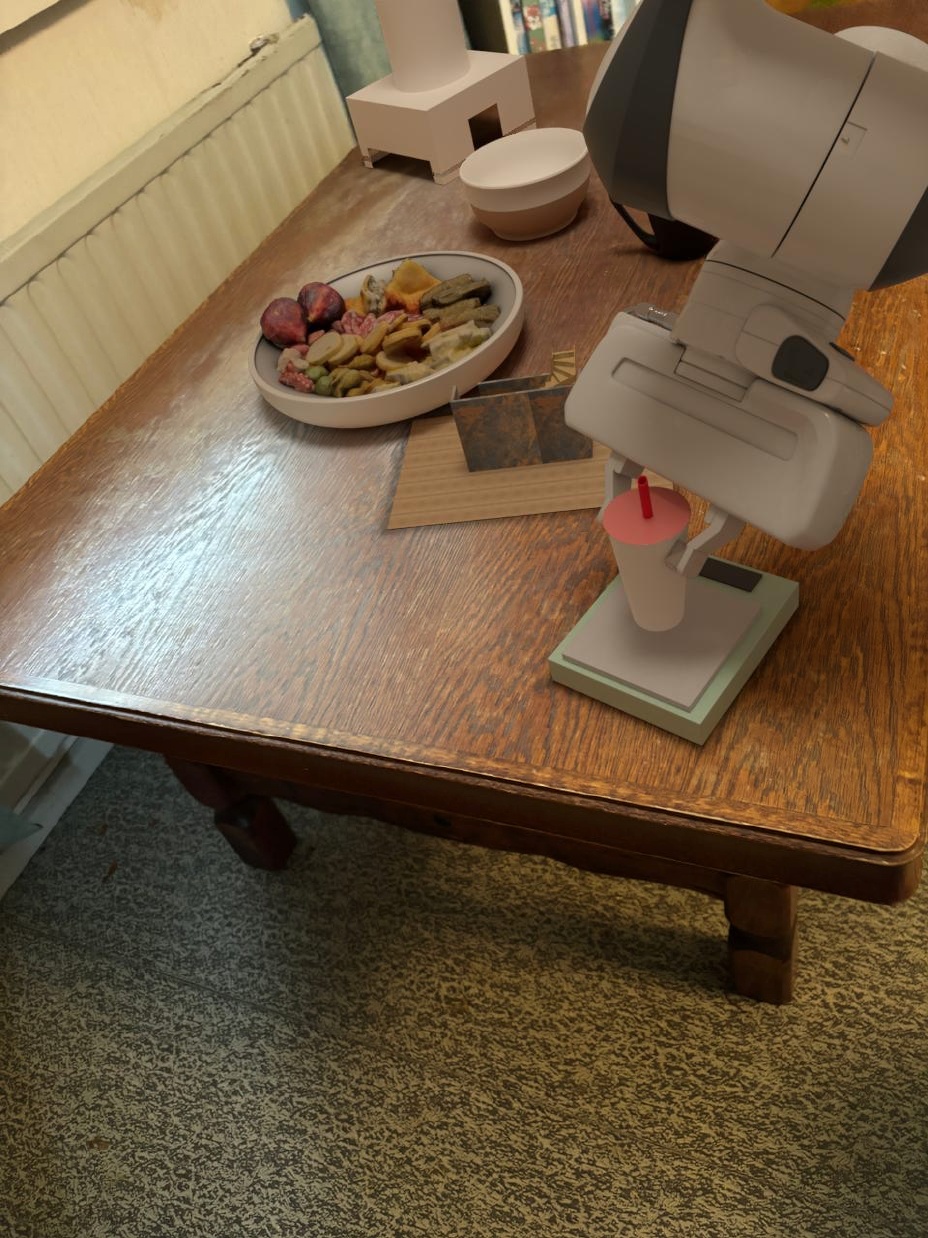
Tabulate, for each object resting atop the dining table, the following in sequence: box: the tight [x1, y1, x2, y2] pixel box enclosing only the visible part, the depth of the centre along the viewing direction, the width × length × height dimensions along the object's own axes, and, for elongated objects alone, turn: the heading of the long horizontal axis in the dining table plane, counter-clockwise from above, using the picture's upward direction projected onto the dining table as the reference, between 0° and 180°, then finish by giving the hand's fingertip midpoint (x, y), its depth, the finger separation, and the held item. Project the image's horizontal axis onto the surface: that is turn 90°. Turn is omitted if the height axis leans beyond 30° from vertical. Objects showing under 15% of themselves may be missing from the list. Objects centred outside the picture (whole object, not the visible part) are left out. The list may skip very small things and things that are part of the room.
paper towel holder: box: [345, 0, 538, 186], centre depth 135 cm, size 19×19×30 cm
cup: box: [603, 475, 692, 631], centre depth 61 cm, size 5×5×12 cm
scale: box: [547, 554, 800, 746], centre depth 68 cm, size 12×14×3 cm
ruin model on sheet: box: [387, 344, 674, 530], centre depth 85 cm, size 25×16×10 cm, turn 84°
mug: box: [607, 193, 714, 261], centre depth 105 cm, size 8×12×10 cm
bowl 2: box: [458, 127, 591, 242], centre depth 119 cm, size 16×16×8 cm
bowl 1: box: [247, 250, 526, 429], centre depth 102 cm, size 30×30×8 cm
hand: (644, 550), depth 61 cm, fingers closed on cup, 5 cm apart
